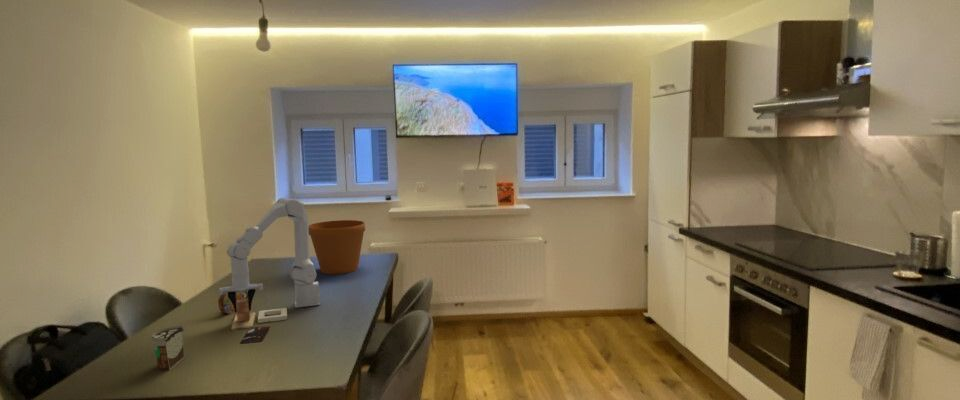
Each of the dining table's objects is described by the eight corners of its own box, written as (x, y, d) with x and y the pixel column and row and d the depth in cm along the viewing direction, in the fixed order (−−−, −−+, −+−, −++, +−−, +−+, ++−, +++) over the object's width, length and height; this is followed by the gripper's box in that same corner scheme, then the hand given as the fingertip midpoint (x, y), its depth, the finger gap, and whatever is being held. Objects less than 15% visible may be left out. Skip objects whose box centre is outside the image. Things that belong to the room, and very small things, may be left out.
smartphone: (239, 343, 177) (249, 327, 192) (239, 345, 177) (249, 329, 192) (262, 341, 178) (270, 325, 193) (262, 343, 178) (270, 327, 193)
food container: (166, 356, 168) (163, 325, 167) (186, 355, 169) (183, 324, 167) (145, 373, 156) (141, 340, 155) (167, 372, 156) (163, 339, 155)
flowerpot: (378, 268, 278) (375, 223, 275) (329, 279, 258) (326, 230, 255) (347, 260, 297) (345, 218, 294) (300, 270, 277) (297, 225, 274)
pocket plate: (287, 311, 210) (286, 307, 210) (286, 319, 201) (286, 315, 200) (259, 314, 207) (259, 311, 206) (258, 323, 197) (257, 319, 197)
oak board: (255, 313, 208) (255, 312, 208) (252, 327, 193) (252, 325, 193) (235, 316, 206) (235, 314, 206) (231, 329, 191) (231, 328, 191)
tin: (225, 316, 206) (223, 295, 205) (217, 316, 207) (215, 294, 206) (249, 304, 221) (247, 284, 220) (242, 304, 221) (240, 284, 220)
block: (250, 317, 202) (248, 298, 201) (249, 320, 198) (247, 301, 197) (238, 318, 200) (237, 300, 200) (237, 321, 197) (236, 303, 196)
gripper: (217, 279, 191) (220, 316, 193) (261, 275, 196) (263, 311, 198) (219, 274, 198) (222, 310, 199) (262, 270, 203) (264, 305, 204)
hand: (243, 310), depth 199 cm, fingers closed on block, 4 cm apart
